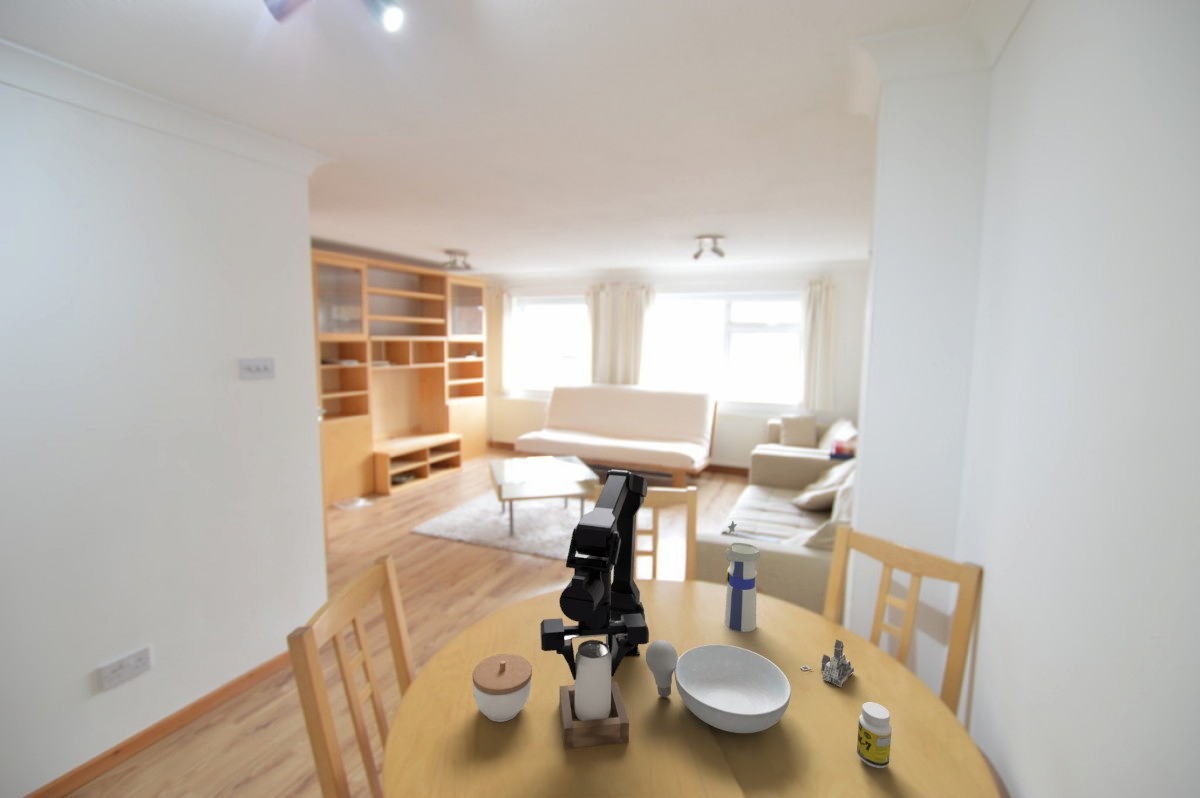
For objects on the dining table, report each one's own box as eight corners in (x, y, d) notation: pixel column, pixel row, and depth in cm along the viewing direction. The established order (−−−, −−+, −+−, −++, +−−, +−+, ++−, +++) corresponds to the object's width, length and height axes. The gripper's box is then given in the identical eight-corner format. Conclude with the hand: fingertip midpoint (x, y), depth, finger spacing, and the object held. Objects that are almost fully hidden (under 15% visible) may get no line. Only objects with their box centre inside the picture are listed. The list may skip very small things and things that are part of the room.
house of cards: (816, 652, 114) (818, 619, 114) (857, 669, 108) (859, 635, 107) (798, 668, 108) (800, 634, 108) (840, 688, 102) (842, 651, 101)
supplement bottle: (850, 747, 86) (853, 700, 85) (877, 745, 86) (880, 699, 86) (867, 770, 81) (871, 720, 80) (895, 768, 82) (899, 719, 81)
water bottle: (716, 625, 124) (720, 526, 122) (729, 611, 131) (733, 517, 129) (750, 636, 119) (754, 533, 117) (761, 621, 126) (765, 524, 124)
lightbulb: (683, 688, 100) (678, 634, 99) (677, 709, 94) (672, 652, 93) (653, 684, 102) (648, 632, 101) (645, 704, 96) (640, 649, 95)
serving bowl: (789, 768, 81) (791, 728, 81) (662, 732, 89) (663, 695, 88) (789, 689, 101) (790, 656, 100) (684, 665, 108) (685, 634, 107)
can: (611, 701, 93) (612, 639, 92) (609, 727, 87) (610, 660, 86) (577, 699, 94) (577, 637, 93) (571, 724, 88) (572, 657, 87)
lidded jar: (532, 728, 89) (533, 677, 88) (470, 734, 87) (469, 683, 86) (531, 688, 99) (531, 643, 99) (475, 693, 98) (474, 647, 97)
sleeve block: (616, 698, 97) (617, 681, 97) (628, 742, 86) (629, 722, 86) (559, 703, 95) (559, 686, 95) (564, 748, 84) (564, 728, 84)
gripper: (636, 570, 98) (634, 647, 99) (539, 575, 95) (539, 654, 97) (650, 598, 87) (648, 683, 88) (541, 604, 84) (541, 692, 86)
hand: (593, 676), depth 90 cm, fingers closed on can, 6 cm apart
